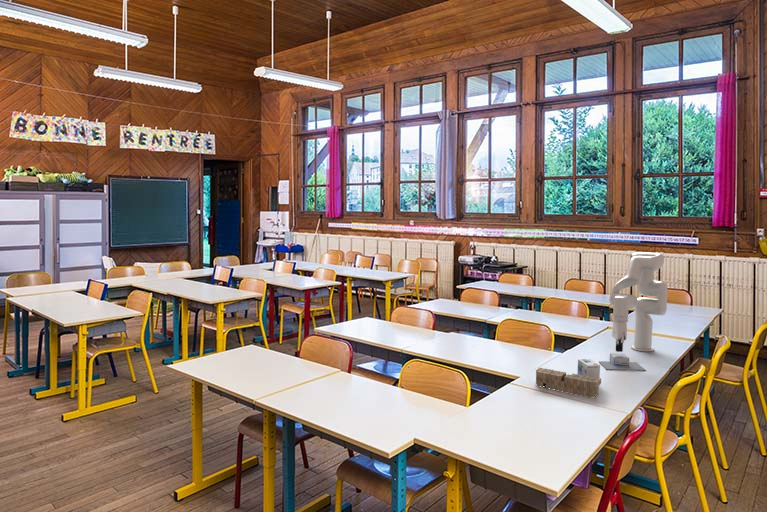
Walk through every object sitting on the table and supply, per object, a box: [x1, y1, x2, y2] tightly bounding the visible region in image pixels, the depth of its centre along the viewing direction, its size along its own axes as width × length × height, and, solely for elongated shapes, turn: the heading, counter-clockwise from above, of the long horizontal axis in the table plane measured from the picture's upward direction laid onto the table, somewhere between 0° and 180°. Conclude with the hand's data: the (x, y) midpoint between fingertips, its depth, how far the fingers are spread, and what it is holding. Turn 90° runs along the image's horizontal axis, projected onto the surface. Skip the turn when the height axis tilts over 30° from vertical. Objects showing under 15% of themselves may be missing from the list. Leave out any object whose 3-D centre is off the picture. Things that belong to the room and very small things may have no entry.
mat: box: [598, 360, 647, 372], centre depth 290 cm, size 14×20×1 cm
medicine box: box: [609, 352, 630, 366], centre depth 293 cm, size 8×4×9 cm
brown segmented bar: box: [535, 367, 602, 398], centre depth 252 cm, size 8×8×29 cm
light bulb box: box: [577, 358, 601, 378], centre depth 262 cm, size 11×7×11 cm, turn 5°
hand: (619, 351), depth 294 cm, fingers closed
